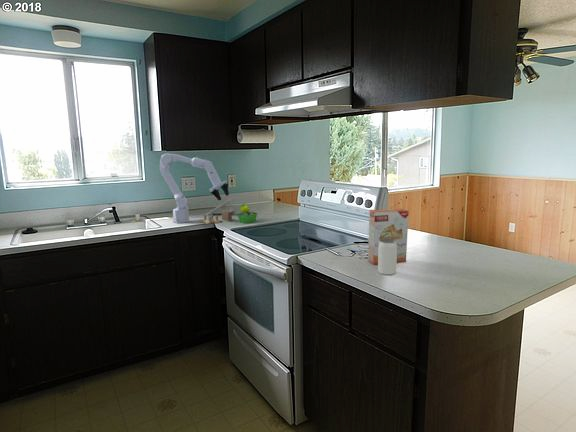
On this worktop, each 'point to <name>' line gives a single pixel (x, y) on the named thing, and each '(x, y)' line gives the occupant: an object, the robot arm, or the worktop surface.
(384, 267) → the can
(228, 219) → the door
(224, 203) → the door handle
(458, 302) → the worktop surface
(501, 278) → the worktop surface
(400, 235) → the cracker box
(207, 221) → the beige irregular piece
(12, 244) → the worktop surface
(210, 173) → the robot arm
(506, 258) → the worktop surface
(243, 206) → the fruit basket
